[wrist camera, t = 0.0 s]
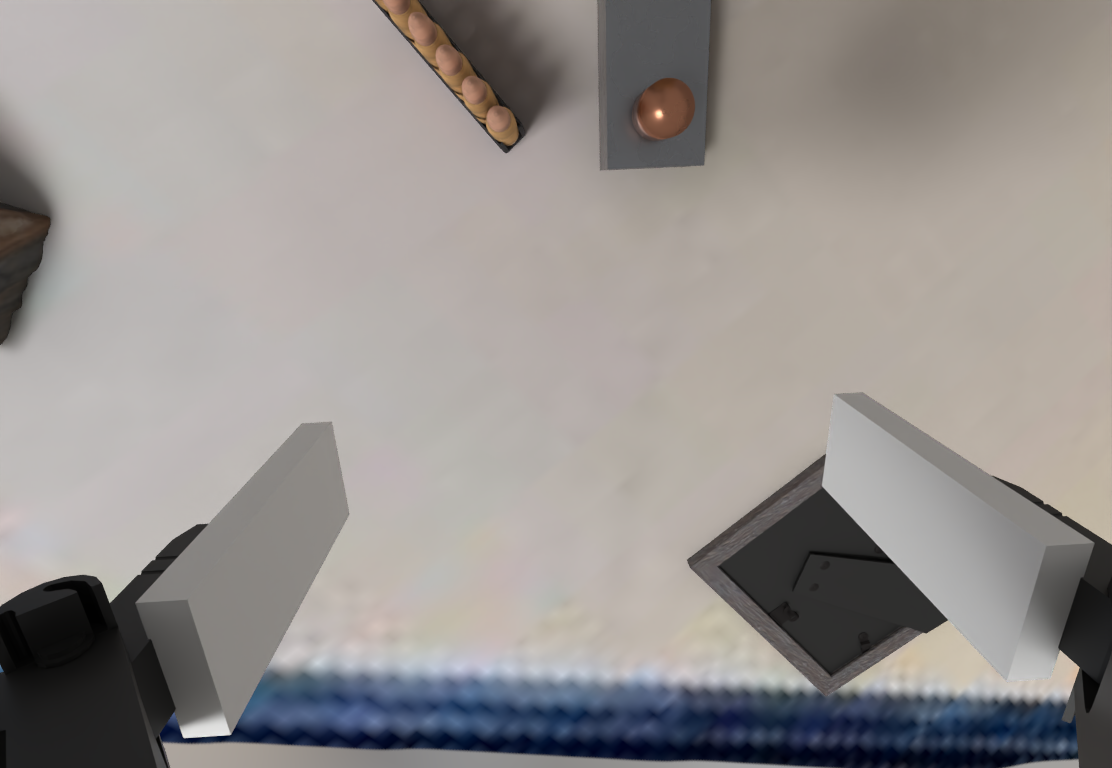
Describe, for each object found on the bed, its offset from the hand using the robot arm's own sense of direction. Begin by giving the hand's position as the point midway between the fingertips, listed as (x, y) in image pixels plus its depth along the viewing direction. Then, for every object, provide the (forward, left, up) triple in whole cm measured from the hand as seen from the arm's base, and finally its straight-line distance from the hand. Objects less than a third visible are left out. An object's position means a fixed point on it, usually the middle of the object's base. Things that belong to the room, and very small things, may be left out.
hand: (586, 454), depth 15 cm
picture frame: (+28, +24, -29) cm, 47 cm away
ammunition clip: (-13, -5, -28) cm, 32 cm away
